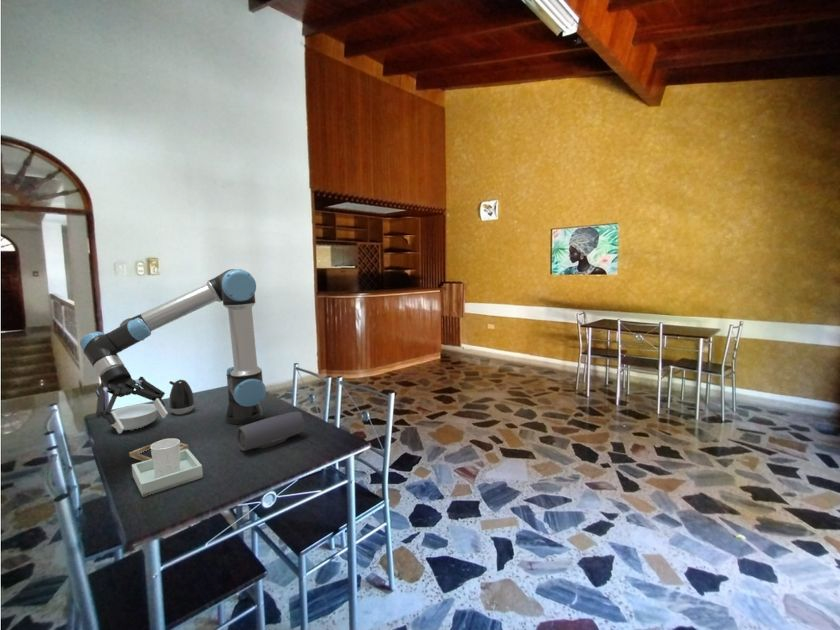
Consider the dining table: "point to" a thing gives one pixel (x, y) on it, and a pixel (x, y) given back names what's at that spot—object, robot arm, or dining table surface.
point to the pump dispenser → (181, 397)
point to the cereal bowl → (136, 415)
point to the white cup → (166, 456)
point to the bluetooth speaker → (270, 431)
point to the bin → (152, 485)
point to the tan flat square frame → (137, 452)
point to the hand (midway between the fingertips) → (144, 423)
